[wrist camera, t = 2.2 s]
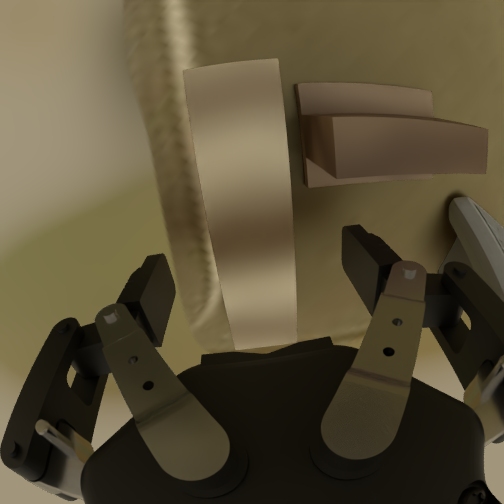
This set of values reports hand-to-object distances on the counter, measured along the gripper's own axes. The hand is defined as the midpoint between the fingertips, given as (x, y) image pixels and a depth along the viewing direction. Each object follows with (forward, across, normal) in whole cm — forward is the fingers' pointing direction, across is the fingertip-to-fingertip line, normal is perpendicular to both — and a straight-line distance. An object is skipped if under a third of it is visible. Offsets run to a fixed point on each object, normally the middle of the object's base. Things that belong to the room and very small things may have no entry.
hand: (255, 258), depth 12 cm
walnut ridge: (+5, -8, -5) cm, 11 cm away
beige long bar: (+6, 0, -1) cm, 6 cm away
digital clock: (+6, -21, +5) cm, 23 cm away
